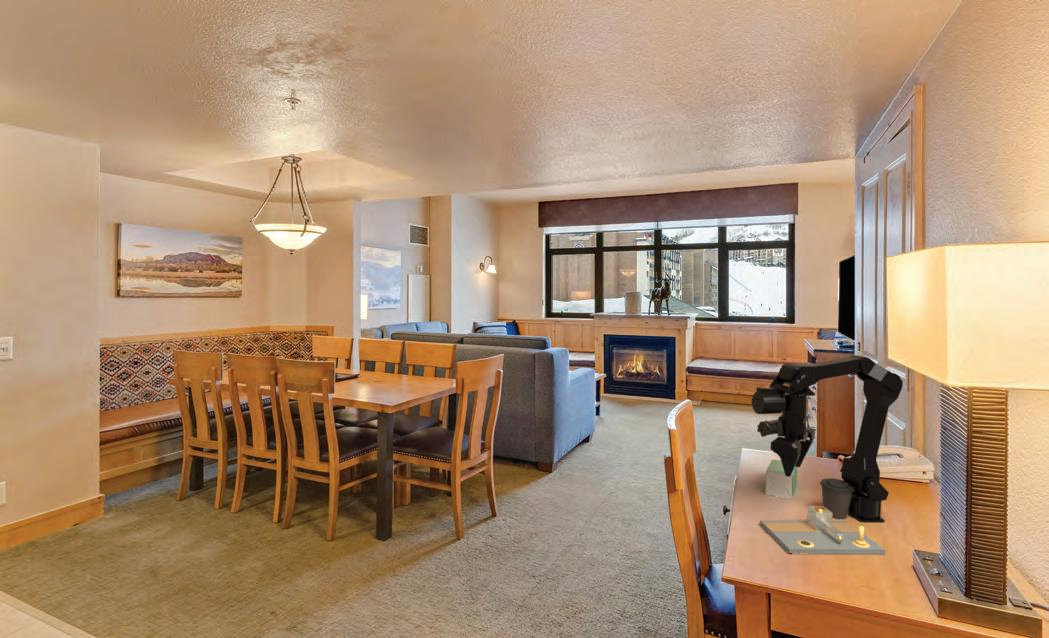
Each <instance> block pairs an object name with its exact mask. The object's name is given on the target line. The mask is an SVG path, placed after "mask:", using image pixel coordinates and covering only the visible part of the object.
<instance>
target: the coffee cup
mask: <svg viewBox="0 0 1049 638" xmlns="http://www.w3.org/2000/svg"><path fill="white" fill-rule="evenodd" d="M819 484H820V486H821V493H822V494H821V495H822V506H824V507H825V508H826V509H828V510H829V511H831V512H832V513H833V514H832V519H833V518H834V520H838V521H844V520H846V519H847V518H848V514H849V513H848V510H849V505H850V501H851V496H852V492H853V491H855V489H854V487H853V486H852V485H850V484H848V483H847V482H845V481H843V479H838V478H831V477H829V478H828V477H827V478H823V479H821V481H820V482H819ZM840 519H841V520H840Z"/></svg>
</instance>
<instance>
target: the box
mask: <svg viewBox="0 0 1049 638" xmlns="http://www.w3.org/2000/svg"><path fill="white" fill-rule="evenodd" d="M797 482H798V467H796V466H795V467H794V470H793V472H792V474H791V476H790V477H787V476H785V473H784V469H783V465H782V462H781V459H780V460H779V459H772V460H771V461H770V463H769V465H768V467H767V468H766V471H765V494H766V495H767V496H770V495H773V496H772V497H775V496H778V497H777V498H780V497H783V498H782V499H785V498H788V499H787V500H793V497H794V494H795V492H796V490H797V489H796V488H797V486H798V485H797Z"/></svg>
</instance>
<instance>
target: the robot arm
mask: <svg viewBox="0 0 1049 638" xmlns="http://www.w3.org/2000/svg"><path fill="white" fill-rule="evenodd" d="M853 374H855V375H856V377H857V378H858V379H860V381H862V382H863V386H862V387H863V388H862V391H863V394H864V397H865V401H866V403H865V406H864V407H865V409H864V411H863V417H862V420H861V424H860V429H859V432H858V438H857V441H856V446H855V450H854V453H853V454H852V455H851V456H850V457H849V458H847V457H844V458H843V459H842V466H841V469H840V470H839V472H840V473H841V474H840V475H841V480H843V481H845V482H847V483H848V484H850V485H852V486H853V487H854V489H855V491H853V492H852V496H851V501H850V505H849V510H848V514H849V515H851V516H852V517H853V518H855V519H856V520H858V521H859V522H863V523H867V522H869V523H870V522H872V523H876V522H877V523H880V522H881V523H884V522H885V521H886V520H885V519H884V518H883V517H881V516H882V513H881V512H882V501H886V500H887V499H888V496H889V493H890V492H889V491H888V490H887V489H886V487H884V486H883V485H882V484H881V482H880V481H881V480H880V479H881V471H880V468H879V465H878V462H877V457H878V453H879V449H880V446H881V445H880V444H881V441H882V437H883V433H884V429H885V424H886V419H887V417H888V412H889V408H890V406H892V405H893V404H894V403H895V402H896V401H897V400H898V399H899V396H900V395H901V391H902V390H903V386H904V381H903V380H902V379H901V376H899V375H898V374H897V373H894V372H891V371H890V370H888V369H886V368H885V367H883V366H881V365H879V364H878V363H876V362H875V361H874V360H872V359H871V358H869V357H867V356H862V355H858V354H857V355H850V356H849V357H843V358H838V359H837V358H836V359H832V360H827V361H822V362H821V361H819V362H816V363H801V362H787V363H783V364H781V367H780V369H779V371H778V373H777V375H776V376H775V377H774V379H773V380H772V381H771V383H770V384H769V385H768V387H763V386H757V387H756V391H755V392H754V393H753V395H752V398H751V407H752V409H753V411H754V412H755V414H756V415H770V414H771V415H772V414H781V415H780V416H778V419H772V420H764V421H762V420H761V421H760V422H759V423H758V424H757V430H756V431H757V433H759V434H760V436H761V437H762V438H765V437H767V436H771V435H777V437H776V438H775V439H773V440H771V442H770V451H772V452H773V453H774V454H777V456H778V457H779V458H780V461H781V462H782V465H783V469H784V473H785V476H787V477H790V476H791V474H792V472H793V470H794V467H795V466H796V467H797V468H801V466H802V463H803V462H804V460H805V458H806V455H807V454H808V452H809V450H810V448H811V447H812V445H813V443H814V441H815V439H816V432H815V430H814V429H813V428H812V427H809V426H808V427H807V422H808V421H809V417H810V416H809V415H807V413H808V411H807V408H808V397H812V396H813V397H814V396H816V392H814V391H813V390H812V389H811V388H810V387H811V386H814V385H816V384H817V383H818V382H819V381H822V380H825V379H831V378H837V377H842V376H848V375H853Z"/></svg>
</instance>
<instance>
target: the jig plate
mask: <svg viewBox="0 0 1049 638" xmlns="http://www.w3.org/2000/svg"><path fill="white" fill-rule="evenodd" d="M759 525H760V527H761V528H763V530H765V532H766V533H767V534H768V535H770V537H772V539H773V540H775V541H776V543H778V545H780V546H781V547H782V548H783V550H785V551H786V552H787V553H788V554H789V553H811V554H810V555H869V556H870V555H872V556H873V555H878V556H879V555H880V556H881V555H885V554H886V549H885V548H884V547H882V546H881V545H880V544H878V543H877V542H875V541H874V540H872V539H871V538H870V537H868V536H867V535H865V526H863V525H858V528H856V527H855V526H853V525H852V524H851V523H849V522H847V521H846V520H832V526H833V527H835V528H836V529H837V530H839V531H840V532H841V533H843V537H842V543H839V542H838V541H837V540H838V537H837V536H836V535H834V534H833V533H832V532H831V531H815V530H814V529H813V528H812V527H811V526H809V525H808V524H807V520H779V519H778V520H776V519H775V520H771V519H768V520H765V519H762V520H761V519H760V520H759Z"/></svg>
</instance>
